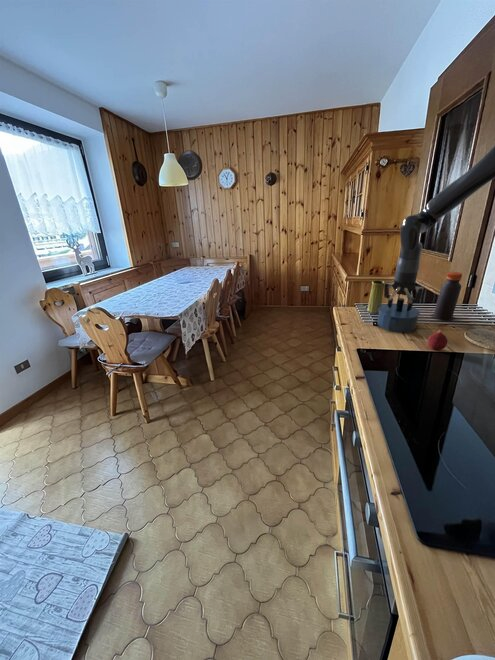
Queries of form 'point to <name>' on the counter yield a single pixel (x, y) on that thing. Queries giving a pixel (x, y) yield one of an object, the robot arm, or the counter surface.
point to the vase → (376, 296)
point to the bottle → (448, 297)
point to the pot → (396, 323)
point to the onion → (437, 341)
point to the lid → (399, 310)
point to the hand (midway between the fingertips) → (399, 309)
